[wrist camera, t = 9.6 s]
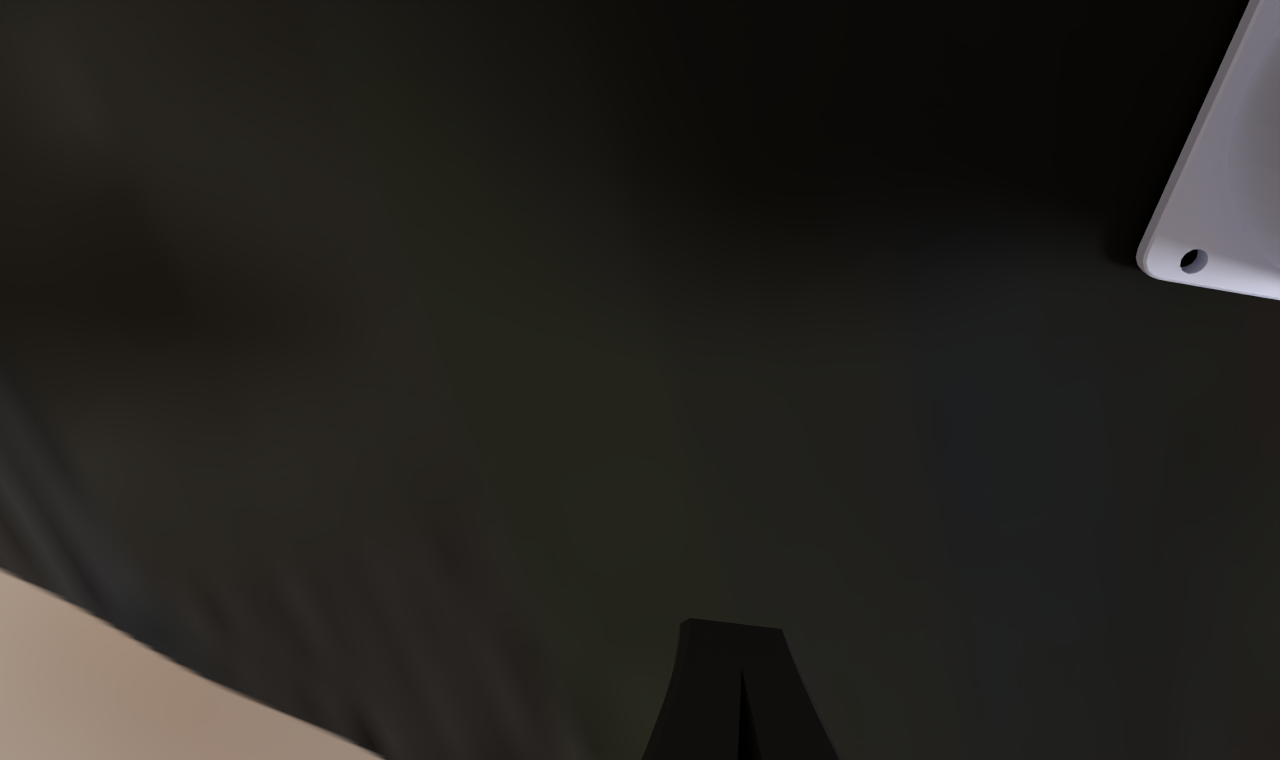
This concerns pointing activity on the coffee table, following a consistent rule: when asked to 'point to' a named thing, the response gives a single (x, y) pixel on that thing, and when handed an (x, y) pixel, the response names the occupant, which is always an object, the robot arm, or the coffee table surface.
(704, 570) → the coffee table surface
